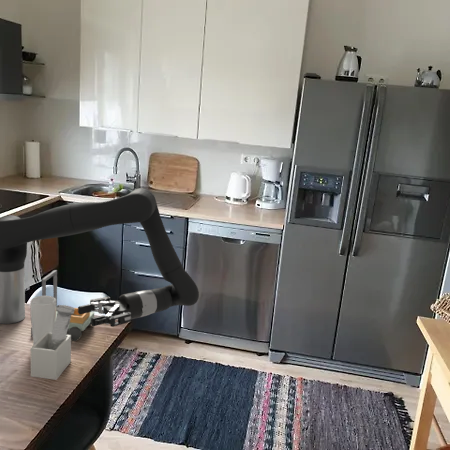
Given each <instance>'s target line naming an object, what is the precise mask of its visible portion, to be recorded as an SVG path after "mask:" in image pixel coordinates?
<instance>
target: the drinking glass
mask: <svg viewBox="0 0 450 450" xmlns="http://www.w3.org/2000/svg"><path fill="white" fill-rule="evenodd" d="M29 304H30V306H29V307H30V309H29V310H30V312H29V313H30V323H31V327H32V334H33V336H32V342H33V343H32V346H33V345H34V344H35V343H36V342H37V341H38V340H39V339H40V338H41V337H42V336H43V335H44V334H45V333H47V332H49V333H53V329H54V325H55V320H56V299H55V298H54V297H53V295H52V296H51V295H46V296H42V295H40V296H35V297H32V299H30V303H29Z"/></svg>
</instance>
